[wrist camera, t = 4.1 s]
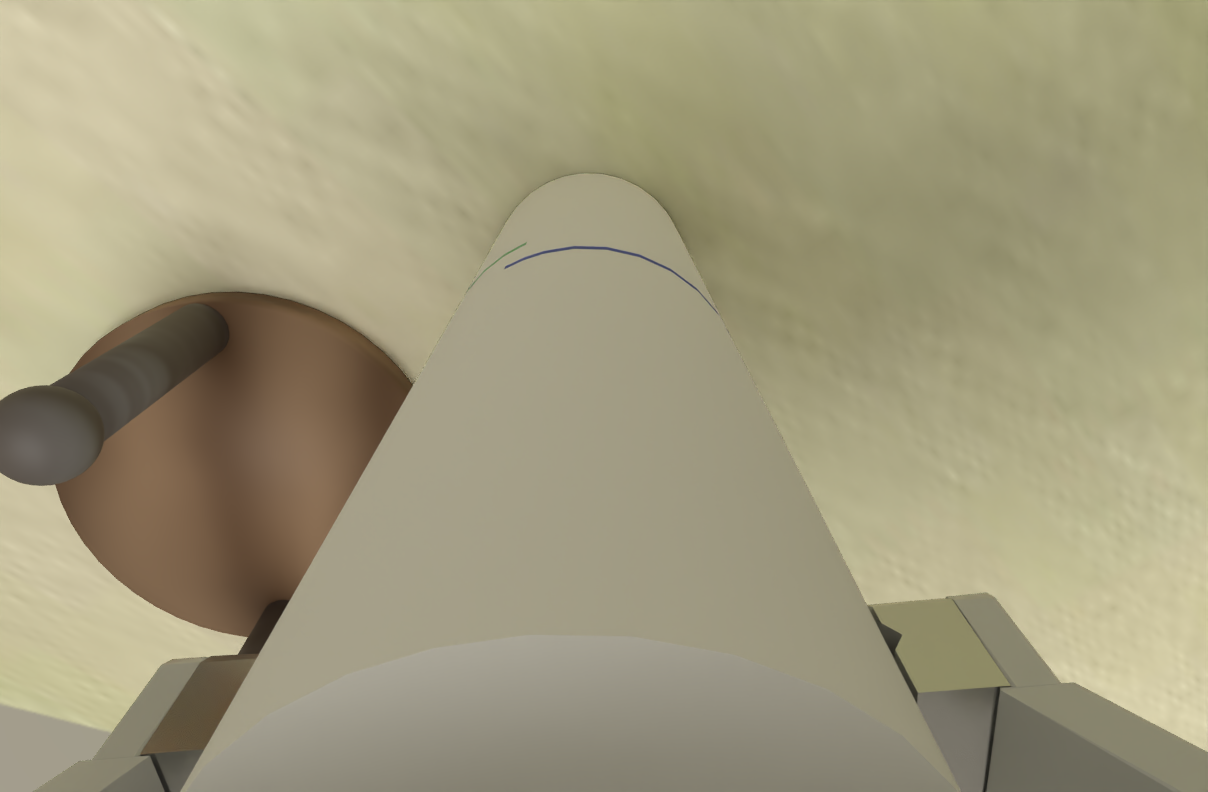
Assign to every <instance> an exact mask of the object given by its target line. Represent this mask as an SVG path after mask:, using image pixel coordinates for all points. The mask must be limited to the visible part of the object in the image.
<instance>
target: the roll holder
mask: <svg viewBox="0 0 1208 792" xmlns="http://www.w3.org/2000/svg"><path fill="white" fill-rule="evenodd" d="M411 388H412V384H411V383H410V382H409V380H408V379H407V378H406V376H405V375H404V374H403V372H402V371H401V370H400V369H399V368H398V367H397V366H396V365H395V364H394V363H393V362H392V360H391V359H390V358H389V357H388V356H387V355H386V354H385V353H384V352H383V351H381V350H380V349H379V348H378V347H377V346H375V345H374V344H373V343H372V342H370V341H369V340H368V339H367V338H365V337H364V336H363V335H361V334H360V333H358V332H357V331H355V330H354V329H352V328H350V327H349V326H347V325H346V324H344V323H343V322H341V321H339V320H337V319H335V318H333V317H331V316H329V315H327V314H325V313H323V312H321V311H319V310H316V309H314V308H311V307H308V306H305V305H302V304H299V303H297V302H294V301H291V300H287V299H282V298H278V297H273V296H269V295H264V294H254V293H243V292H217V293H206V294H200V295H194V296H187V297H184V298H180V299H177V300H174V301H171V302H167V303H164V304H162V305H159V306H157V307H155V308H153V309H151V310H149V311H147V312H145V313H142V314H140V315H139V316H137V317H135V318H133V319H131V320H130V321H128V322H126V323H124V324H122V325H120V326H119V327H117V328H116V329H114V330H113V331H111V332H110V333H109V334H107V335H106V336H104V337H103V338H101V339H100V340H99V341H98V342H97V343H96V344H94V345H93V346H92V347H91V348H90V349H89V350H88V351H87V352H86V353H85V354H84V355H83V356H82V357H81V359H80V360H79V361H78V363H77V364H76V365H75V367H74V368H73V369H72V371H71V372H70V373H69V374H68V375H66V376H65V377H63V378H61V379H60V380H58V381H56V382H55V383H53V384H51V385H50V386H48V385H45V386H33V387H28V388H24V389H21V390H18V391H16V392H14V393H12V394H9V395H8V396H7V397H5V398H4V399H2V400H1V401H0V472H1V473H2V474H3V475H5V476H7V477H8V478H10V479H13V480H15V481H17V482H20V483H24V484H29V485H38V486H45V485H54V484H55V485H56V488H57V491H58V494H59V497H60V500H61V503H62V505H63V507H64V509H65V511H66V514H67V516H68V518H69V520H70V522H71V524H72V525H73V527H74V528H75V530H76V532H77V533H78V535H79V536H80V538H81V539H82V541H83V542H84V544H85V545H86V546H87V547H88V549H89V550H90V551H91V552H92V554H93V555H94V556H95V557H96V558H97V560H98V561H99V562H100V563H101V564H102V565H103V566H104V567H105V568H106V569H107V570H108V571H109V572H110V573H111V574H112V575H113V576H114V577H115V578H116V579H118V580H119V581H120V582H121V583H123V584H124V585H125V586H127V587H128V588H129V589H130V590H132V591H133V592H134V593H135V594H137V595H139V596H140V597H142V598H143V599H145V600H146V601H148V602H149V603H151V604H153V605H154V606H156V607H158V608H160V609H162V610H164V611H166V612H168V613H170V614H172V615H174V616H175V617H177V618H180V619H183V620H185V621H188V622H190V623H193V624H195V625H198V626H201V627H204V628H208V629H211V630H215V631H219V632H222V633H227V634H233V635H239V636H244V637H248V638H247V640H246V642H245V643H244V645H243V647H242V648H241V650H240V652H239V653H238V655H241V654H258V653H260V652H261V650H262V648H263V646H264V645H265V643H266V641H267V639H268V638H269V636H270V634H271V632H272V631H273V629H274V627H275V625H276V624H277V622H278V620H279V618H280V617H281V615H282V613H283V611H284V610H285V608H286V606H287V604H288V603H289V601H290V599H291V598H292V596H293V594H294V592H295V591H296V589H297V587H298V585H299V584H300V582H301V580H302V578H303V577H304V575H305V573H306V571H307V570H308V568H309V566H310V564H311V563H312V561H313V559H314V557H315V556H316V554H317V552H318V550H319V549H320V547H321V545H322V543H323V542H324V540H325V538H326V536H327V535H328V533H329V531H330V529H331V528H332V526H333V524H334V522H335V521H336V519H337V517H338V515H339V514H340V512H341V510H342V509H343V507H344V505H345V503H346V502H347V500H348V498H349V496H350V495H351V493H352V491H353V489H354V488H355V486H356V484H357V482H358V481H359V479H360V477H361V475H362V474H363V472H364V470H365V468H366V467H367V465H368V463H369V461H370V460H371V458H372V456H373V454H374V453H375V451H376V449H377V447H378V446H379V444H380V442H381V440H382V439H383V437H384V435H385V433H386V432H387V430H388V428H389V426H390V425H391V423H392V421H393V420H394V418H395V416H396V414H397V413H398V411H399V409H400V407H401V406H402V404H403V402H404V400H405V399H406V397H407V395H408V393H409V392H410V390H411Z"/></svg>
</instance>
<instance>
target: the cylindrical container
mask: <svg viewBox="0 0 1208 792" xmlns="http://www.w3.org/2000/svg"><path fill="white" fill-rule="evenodd" d="M180 792H961V790H960V788H959V786H958V784H957V782H956V780H955V778H954V776H953V774H952V773H951V771H950V769H949V767H948V765H947V763H946V761H945V759H944V757H943V755H942V753H941V751H940V749H939V747H938V745H937V743H936V741H935V739H934V737H933V735H932V733H931V731H930V729H929V727H928V725H927V723H926V721H925V719H924V717H923V715H922V713H921V711H920V709H919V707H918V705H917V703H916V701H915V699H914V697H913V695H912V693H911V691H910V689H909V687H908V685H907V683H906V681H905V679H904V677H903V675H902V673H901V671H900V669H899V668H898V666H897V664H896V662H895V660H894V658H893V656H892V654H891V652H890V650H889V648H888V646H887V644H886V642H885V640H884V638H883V636H882V634H881V632H880V630H879V628H878V626H877V624H876V622H875V620H874V618H873V616H872V614H871V612H870V610H869V608H868V606H867V604H866V602H865V600H864V598H863V596H862V594H861V592H860V590H859V588H858V586H857V584H856V582H855V580H854V578H853V576H852V574H851V572H850V570H849V568H848V566H847V565H846V563H845V561H844V559H843V557H842V555H841V553H840V551H839V549H838V547H837V545H836V543H835V541H834V539H833V537H832V535H831V533H830V531H829V529H828V527H827V525H826V523H825V521H824V519H823V517H822V515H821V513H820V511H819V509H818V507H817V505H816V503H815V501H814V499H813V497H812V495H811V493H810V491H809V489H808V487H807V485H806V483H805V481H804V479H803V477H802V475H801V473H800V471H799V469H798V467H797V465H796V464H795V462H794V460H793V458H792V456H791V454H790V452H789V450H788V448H787V446H786V444H785V442H784V440H783V438H782V436H781V434H780V432H779V430H778V428H777V426H776V424H775V422H774V420H773V418H772V416H771V414H770V412H769V410H768V408H767V407H766V405H765V403H764V401H763V399H762V397H761V395H760V393H759V391H758V389H757V387H756V385H755V383H754V381H753V379H752V377H751V375H750V373H749V371H748V369H747V367H746V365H745V363H744V361H743V359H742V357H741V355H740V353H739V351H738V349H737V348H736V346H735V344H734V342H733V340H732V338H731V336H730V334H729V332H728V330H727V328H726V326H725V324H724V322H723V320H722V318H721V316H720V314H719V312H718V310H717V308H716V306H715V304H714V302H713V300H712V298H711V296H710V294H709V292H708V290H707V288H706V286H705V284H704V282H703V280H702V278H701V276H700V274H699V272H698V270H697V268H696V266H695V264H694V262H693V260H692V258H691V256H690V254H689V252H688V250H687V249H686V247H685V245H684V243H683V241H682V239H681V237H680V235H679V233H678V231H677V229H676V227H675V225H674V224H673V222H672V220H671V218H670V216H669V215H668V213H667V212H666V211H665V210H664V209H663V207H662V206H661V205H660V204H659V203H658V202H657V200H656V199H654V198H653V197H652V196H651V195H649V194H648V193H647V192H645V191H644V190H643V189H641V188H640V187H638V186H636V185H634V184H632V183H630V182H628V181H626V180H624V179H621V178H617V177H613V176H609V175H605V174H592V173H581V174H575V175H569V176H564V177H561V178H558V179H556V180H553V181H550V182H548V183H546V184H544V185H543V186H541V187H539V188H538V189H536V190H535V191H533V192H531V193H530V194H529V195H528V196H527V197H526V198H525V199H524V200H523V201H522V202H521V203H520V204H519V205H518V206H517V207H516V208H515V210H514V211H513V213H512V214H511V215H510V217H509V218H508V220H507V221H506V223H505V225H504V226H503V228H502V230H501V232H500V233H499V235H498V237H497V239H496V241H495V242H494V244H493V246H492V248H491V249H490V251H489V253H488V255H487V257H486V258H485V260H484V262H483V264H482V265H481V267H480V269H479V271H478V273H477V274H476V276H475V278H474V280H473V281H472V283H471V285H470V287H469V289H468V290H467V292H466V294H465V296H464V297H463V299H462V301H461V303H460V304H459V306H458V308H457V310H456V311H455V313H454V315H453V317H452V318H451V320H450V322H449V324H448V325H447V327H446V329H445V331H444V332H443V334H442V336H441V337H440V339H439V341H438V343H437V344H436V346H435V348H434V350H433V351H432V353H431V355H430V357H429V358H428V360H427V362H426V364H425V365H424V367H423V369H422V371H421V372H420V374H419V376H418V378H417V379H416V381H415V383H414V385H413V386H412V388H411V390H410V392H409V393H408V395H407V397H406V399H405V400H404V402H403V404H402V406H401V407H400V409H399V411H398V413H397V414H396V416H395V418H394V420H393V421H392V423H391V425H390V426H389V428H388V430H387V432H386V433H385V435H384V437H383V439H382V440H381V442H380V444H379V446H378V447H377V449H376V451H375V453H374V454H373V456H372V458H371V460H370V461H369V463H368V465H367V467H366V468H365V470H364V472H363V474H362V475H361V477H360V479H359V481H358V482H357V484H356V486H355V488H354V489H353V491H352V493H351V495H350V496H349V498H348V500H347V502H346V503H345V505H344V507H343V509H342V510H341V512H340V514H339V515H338V517H337V519H336V521H335V522H334V524H333V526H332V528H331V529H330V531H329V533H328V535H327V536H326V538H325V540H324V542H323V543H322V545H321V547H320V549H319V550H318V552H317V554H316V556H315V557H314V559H313V561H312V563H311V564H310V566H309V568H308V570H307V571H306V573H305V575H304V577H303V578H302V580H301V582H300V584H299V585H298V587H297V589H296V591H295V592H294V594H293V596H292V598H291V599H290V601H289V603H288V604H287V606H286V608H285V610H284V611H283V613H282V615H281V617H280V618H279V620H278V622H277V624H276V625H275V627H274V629H273V631H272V632H271V634H270V636H269V638H268V639H267V641H266V643H265V645H264V646H263V648H262V650H261V652H260V653H259V655H258V657H257V659H256V660H255V662H254V664H253V666H252V667H251V669H250V671H249V673H248V674H247V676H246V678H245V680H244V681H243V683H242V685H241V687H240V688H239V690H238V692H237V693H236V695H235V697H234V699H233V700H232V702H231V704H230V706H229V707H228V709H227V711H226V713H225V714H224V716H223V718H222V720H221V721H220V723H219V725H218V727H217V728H216V730H215V732H214V734H213V735H212V737H211V739H210V741H209V742H208V744H207V746H206V748H205V749H204V751H203V753H202V755H201V756H200V758H199V760H198V762H197V763H196V765H195V767H194V769H193V770H192V772H191V774H190V776H189V777H188V779H187V781H186V783H185V784H184V786H183V788H182V789H181V791H180Z"/></svg>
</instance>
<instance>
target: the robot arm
mask: <svg viewBox="0 0 1208 792" xmlns="http://www.w3.org/2000/svg"><path fill="white" fill-rule="evenodd" d="M867 606H868V608H869V610H870V612H871V614H872V616H873V618H874V620H875V622H876V624H877V626H878V628H879V630H880V632H881V634H882V636H883V638H884V640H885V642H886V644H887V646H888V648H889V650H890V652H891V654H892V656H893V658H894V660H895V662H896V664H897V666H898V668H899V669H900V671H901V673H902V675H903V677H904V679H905V681H906V683H907V685H908V687H909V689H910V691H911V693H912V695H913V697H914V699H915V701H916V703H917V705H918V707H919V709H920V711H921V713H922V715H923V717H924V719H925V721H926V723H927V725H928V727H929V729H930V731H931V733H932V735H933V737H934V739H935V741H936V743H937V745H938V747H939V749H940V751H941V753H942V755H943V757H944V759H945V761H946V763H947V765H948V767H949V769H950V771H951V773H952V774H953V776H954V778H955V780H956V782H957V784H958V786H959V788H960V790H961V792H1208V752H1206V751H1205V750H1203V749H1201V748H1199V747H1197V746H1195V745H1193V744H1191V743H1189V742H1187V741H1185V740H1183V739H1182V738H1180V737H1178V736H1176V735H1174V734H1172V733H1170V732H1168V731H1166V730H1164V729H1162V728H1160V727H1159V726H1157V725H1155V724H1153V723H1151V722H1149V721H1147V720H1145V719H1143V718H1141V717H1139V716H1137V715H1136V714H1134V713H1132V712H1130V711H1128V710H1126V709H1124V708H1122V707H1120V706H1118V705H1116V704H1114V703H1113V702H1111V701H1109V700H1107V699H1105V698H1103V697H1101V696H1099V695H1097V694H1095V693H1093V692H1091V691H1090V690H1088V689H1086V688H1084V687H1082V686H1080V685H1078V684H1076V683H1061V682H1060V681H1059V680H1058V678H1057V677H1056V676H1055V674H1054V673H1053V672H1052V671H1051V669H1050V668H1049V667H1048V665H1047V664H1046V663H1045V662H1044V660H1043V659H1042V658H1041V656H1040V655H1039V654H1038V652H1037V651H1036V650H1035V649H1034V647H1033V646H1032V645H1031V643H1030V642H1029V641H1028V640H1027V638H1026V637H1025V636H1024V634H1023V633H1022V632H1021V631H1020V629H1019V628H1018V627H1017V625H1016V624H1015V623H1014V622H1013V620H1012V619H1011V618H1010V616H1009V615H1008V614H1007V613H1006V611H1005V610H1004V609H1003V607H1002V606H1001V605H1000V604H999V602H998V601H997V600H996V598H995V597H994V596H992V595H990V594H988V593H977V594H968V595H958V596H949V597H946V598H940V599H929V600H917V601H906V602H894V603H883V604H871V605H867ZM258 655H259V653H258V654H241V655H224V656H211V657H199V658H184V659H172V660H170V661H168V662H166V663H164V664H162V665H161V666H160V667H159V669H158V670H157V671H156V673H155V674H154V675H153V677H152V678H151V680H150V681H149V682H148V684H147V685H146V686H145V688H144V689H143V691H142V692H141V693H140V695H139V696H138V697H137V699H136V700H135V702H134V703H133V704H132V706H131V707H130V708H129V710H128V711H127V713H126V714H125V715H124V717H123V718H122V719H121V721H120V722H119V723H118V725H117V726H116V728H115V729H114V730H113V732H112V733H111V735H110V736H109V737H108V739H107V740H106V741H105V743H104V744H103V745H102V747H101V748H100V750H99V751H98V752H97V754H96V755H95V756H94V758H93V759H92V760H86V761H79V762H77V763H76V764H74V765H73V766H71V767H69V768H68V769H67V770H65V771H63V772H62V773H61V774H59V775H57V776H56V777H54V778H53V779H52V780H50V781H48V782H47V783H45V784H44V785H42V786H41V787H39V788H38V789H36V790H35V791H33V792H180V791H181V789H182V788H183V786H184V784H185V783H186V781H187V779H188V777H189V776H190V774H191V772H192V770H193V769H194V767H195V765H196V763H197V762H198V760H199V758H200V756H201V755H202V753H203V751H204V749H205V748H206V746H207V744H208V742H209V741H210V739H211V737H212V735H213V734H214V732H215V730H216V728H217V727H218V725H219V723H220V721H221V720H222V718H223V716H224V714H225V713H226V711H227V709H228V707H229V706H230V704H231V702H232V700H233V699H234V697H235V695H236V693H237V692H238V690H239V688H240V687H241V685H242V683H243V681H244V680H245V678H246V676H247V674H248V673H249V671H250V669H251V667H252V666H253V664H254V662H255V660H256V659H257V657H258Z"/></svg>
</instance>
